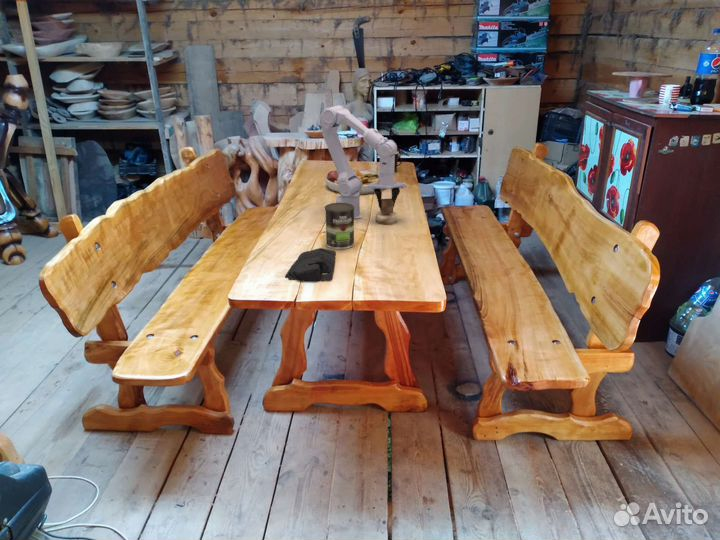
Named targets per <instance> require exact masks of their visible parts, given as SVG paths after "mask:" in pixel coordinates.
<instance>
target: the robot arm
mask: <svg viewBox="0 0 720 540" xmlns="http://www.w3.org/2000/svg"><path fill="white" fill-rule="evenodd" d="M319 118H320V121H321V135H322V137H323V139H324V141H325V144H326V147H327V149H328V153H329V154H330V156H331V159H332V161H333V164H334V167H335V169H336V170H337V172H338V174H339V176H338V180H337V182H338V185H339V192H340V195H337V196H336V198H335V199H336V202H335V203H348V204H352V205H353V206H354V220H355V219H356V220H357V219H362V218H363V217H362V215H361V211H360V210H361V209H360V207H361V205H360V203H361V202H360V201H361V200H360V198H361V194H359V191H360V190H361V188H362V181H361V180H360V179H359V178H358V176H357V175H356V173H355V172H354V171H353V170H354V169H352V168H351V165H350V163H349V160H348V157H347V156H346V153H345V151H344V148H343V145H342V144H341V143H342V142H341V141H340V138H339V136H338V129H339V127H340V125H346V126H347V127H349V128H350V129H352V130H354V131H355V132H356V133H357V134H359V135H361V136H362V139H363V141H364V143H366V144H367V145H369V146H370V147H371V148H372V149H374V150H375V151H376V152H377V155H378V157H379V172H380V176H379V183H375V184H368V190H374V193H375V196H376V199H377V203H378V207H379V209H380V208H381V205H382V204H381V199H382V197H383V192H382V190H391V191H390V192H391V199H392V200H393V202H394V204H393V208H395V205H396V201H397V198H398V196H399V195H400V192H401V190H400V189H403V190H406V183H405V182H395V172H394V166H395V155H394V154H395V153H396V151H397V152H398V146H397V143H396V142H395V141H394V140H393V139H388V137H384V136H383V135H382V134H381V133H380V132H379V130H378V129H377V128H375V129H374V128H368V127H367V126H365V124H364V123H362V122H361V121H360V120H359V119H358V118H357V117H356V116H354V115H353V114H352V113H351V111H350V110H349V109H348V108H345V107H344V106H343V105H342V104H337V105H334V106H330V107H325V108H324V109H323V110H322V112H321V115H320V116H319ZM392 155H393V156H392ZM381 189H382V190H381ZM339 192H338V193H339Z"/></svg>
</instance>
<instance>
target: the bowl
mask: <svg viewBox="0 0 720 540" xmlns="http://www.w3.org/2000/svg"><path fill="white" fill-rule="evenodd" d="M352 170H353V171H354V172H355V173H356V175H357V176H358V178H359V179H360V180H361V181H362V188H361V190H360V191H359V194H360V195H368V193H369V194H374V193H375V192H374V190H368V184H375V183H379V176H380V171H376V170H367V169H352ZM338 176H339V174H338V172H337V169H336V170H334V171H333V170H332V171H331V170H330V171H329V172H328V173H327V175H326V176H325V183H326V185H327V186H326V187H328V188H329V189H330V190H331V191H333V192H336V193H340V192H339V185H338V182H337V180H338ZM382 190H383V189H381V191H382Z"/></svg>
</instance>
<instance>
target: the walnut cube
mask: <svg viewBox="0 0 720 540" xmlns="http://www.w3.org/2000/svg"><path fill="white" fill-rule="evenodd" d="M381 204H382V205H381V208H379V211H381V213H393V212H394V207H393V204H394V202H393V200H392V197H391V198H381Z"/></svg>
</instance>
